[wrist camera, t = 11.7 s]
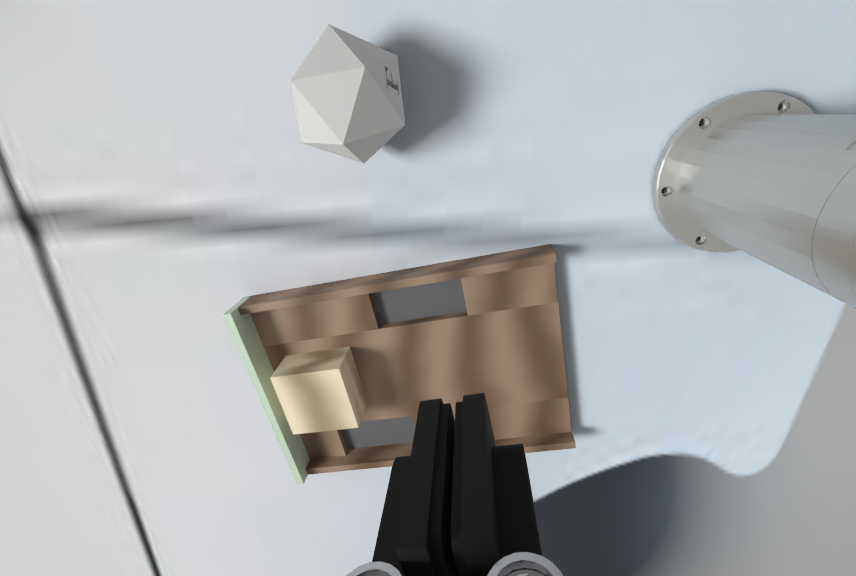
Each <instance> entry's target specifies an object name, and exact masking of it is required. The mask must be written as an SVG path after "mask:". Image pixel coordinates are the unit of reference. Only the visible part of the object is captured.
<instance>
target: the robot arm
mask: <svg viewBox="0 0 856 576" xmlns="http://www.w3.org/2000/svg"><path fill="white" fill-rule="evenodd" d="M778 105H779V107H778ZM700 120H702V124H701V125H700V126H699V122H700ZM664 187H665V190H664V192H661V191H662V189H663V188H664ZM652 196H653V202H654V208H655V211H656V213H657V215H658V218H659V220H660V222H661V223H662V224H663V226H664V227H665V229H666V230H667V231H668V232H669V233H670V234H672V235H673V236H674V237H675V238H676V239H678V240H680V241H681V242H683V243H684V244H686V245H688V246H691V247H693V248H695V249H698V250H703V251H709V252H731V251H738V250H741V251H743V252H745V253H747V254H749V255H751V256H753V257H755V258H757V259H759V260H761V261H763V262H765V263H767V264H769V265H771V266H773V267H775V268H777V269H779V270H781V271H783V272H785V273H787V274H789V275H791V276H793V277H795V278H797V279H799V280H801V281H803V282H805V283H807V284H809V285H811V286H813V287H815V288H817V289H819V290H820V291H822V292H824V293H826V294H828V295H830V296H832V297H834V298H836V299H838V300H840V301H843V302H845V303H847V304H849V305H851V306H853V307H855V308H856V114H815V113H814V112H813V111H812V110H811V109H810V108H809V107H808V106H807V105H806V104H804V103H803V102H801V101H799V100H798V99H796V98H795V97H792V96H789V95H786V94H782V93H779V92H767V91H756V92H745V93H740V94H736V95H731V96H728V97H725V98H723V99H720V100H718V101H715V102H713V103H711V104H710V105H708V106H706V107H705V108H703V109H701V110H700V111H698V112H697V113H695V114H694V115H693V116H692V117H691V118H689V119H688V120H687V121H686V122H685V123H683V125H682V126H681V127H680V128H679V129H678V130H677V131H676V132H675V134H674V135H673V136H672V137H671V139H670V140H669V142H668V143H667V145H666V146H665V148H664V150H663V151H662V154H661V156H660V158H659V161H658V163H657V165H656V169H655V173H654V178H653V188H652ZM697 237H698V239H697V240H696V238H697ZM347 576H563V575H562V573H561V571H560V570H559V569H557V567H556V566H555V565H554V564H553V563H552V562H551V561H549V560H547V559H546V558H544V557H543V556H542V550H541V544H540V539H539V533H538V527H537V521H536V515H535V509H534V503H533V497H532V491H531V485H530V479H529V474H528V468H527V462H526V457H525V451H524V446H523V443H522V444H513V445H503V446H496V443H495V439H494V434H493V429H492V424H491V420H490V415H489V410H488V405H487V401H486V396H485V393H478V394H470V395H464V396H463V401H461V402H456V406H455V419H454V415H453V411H452V407H451V404H450V403H446V404H444V403H443V401H442V399H441V398H439V399H432V400H424V401H420V403H419V408H418V415H417V421H416V427H415V433H414V439H413V445H412V451H411V456H402V457H396V458H395V460H394V462H393V466H392V471H391V475H390V480H389V485H388V490H387V494H386V499H385V504H384V509H383V513H382V518H381V523H380V527H379V532H378V537H377V542H376V546H375V551H374V556H373V560H372V562H369V563H367V564H364V565H361V566H359V567H357V568H356V569H355V570H353V571H352V572H350V573H349V574H348V575H347Z"/></svg>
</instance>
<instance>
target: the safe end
mask: <svg viewBox="0 0 856 576" xmlns="http://www.w3.org/2000/svg"><path fill="white" fill-rule="evenodd" d="M249 297H250V296H249ZM249 297H243V298H242V299H241V300H240V301H239V302H237V303H236V304H235V305H234V306H233V307H232V308H230V309H229V310H228V311H227V312H226V313H224V314H223V317H224V319H225V321H226V323H227V326H228V328H229V330H230V333H231V335H232V337H233V339H234V342H235V344H236V346H237V349H238V351H239V353H240V355H241V358H242V360H243V362H244V365H245V367H246V369H247V371H248V374H249V376H250V378H251V380H252V383H253V385H254V387H255V390H256V392H257V394H258V396H259V399H260V401H261V403H262V406H263V408H264V410H265V412H266V415H267V417H268V419H269V421H270V424H271V426H272V428H273V431H274V433H275V435H276V437H277V440H278V442H279V444H280V447H281V449H282V451H283V453H284V456H285V458H286V460H287V463H288V465H289V467H290V469H291V472H292V474H293V476H294V478H295V481H296V483H297V484H304V482H305V479H306V477H307V475H308V474H307V472H306V467H307V465H308V462H309V460H310V458H309V456H308V453H307V451H306V448H305V446H304V444H303V441H302V439H301V436H300V434H294V435H293V433H292V431H291V428H290V426H289V423H288V421H287V418H286V416H285V413H284V411H283V408H282V406H281V404H280V401H279V399H278V396H277V394H276V391H275V389H274V386H273V384H272V381H271V379H270V377H271V376H272V374H273V373H274V371H273V368H272V366H271V363H270V361H269V358H268V356H267V354H266V351H265V349H264V346H263V344H262V341H261V339H260V337H259V334H258V332H257V329H256V327H255V324H254V322H253V319H252V317H251V315H250V313H249V314H243V315H240V313H239V310H238V307H239V306H240V305H241V304H242V303H243V302H244V301H246V300H247V299H248V298H249Z"/></svg>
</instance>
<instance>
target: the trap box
mask: <svg viewBox="0 0 856 576" xmlns="http://www.w3.org/2000/svg"><path fill="white" fill-rule="evenodd" d="M556 262H557V258H556V253H555V251H554V250H553V248H552V246H551V245H550V244H549V245H543V246H537V247H532V248H526V249H520V250H514V251H509V252H503V253H497V254H491V255H485V256H480V257H474V258H468V259H462V260H457V261H451V262H445V263H439V264H433V265H428V266H422V267H416V268H410V269H405V270H399V271H393V272H387V273H381V274H376V275H370V276H364V277H358V278H353V279H347V280H341V281H335V282H330V283H324V284H318V285H312V286H306V287H301V288H295V289H289V290H283V291H278V292H272V293H266V294H260V295H254V296H250V297H249V298H248V299H247V300H246V301H244V302H243V303H242V304H241V305H240V306H239V307H238V310H239V313H240V315H243V314H249V313H250V315H251V317H252V319H253V322H254V324H255V327H256V329H257V332H258V334H259V337H260V339H261V341H262V344H263V346H264V349H265V351H266V354H267V356H268V358H269V361H270V363H271V366H272V368H273V371H274V372H275V370H276V369H277V367H278V366H279V365H280V363H281V362H282V361H283V359H284V358H285V356H286V355H292V354H299V353H307V352H314V351H321V350H328V349H335V348H343V347H350V349H351V352H352V355H353V358H354V362H355V365H356V368H357V371H358V374H359V378H360V381H361V384H362V387H363V390H364V394H365V397H366V400H367V404H366V407H365V410H364V413H363V416H362V419H361V421H360V422H364V421H373V420H381V419H390V418H398V417H407V416H413V419H414V423H415V426H416V421H417V415H418V408H419V403H420V401H424V400H432V399H439V398H441V399H442V401H443V403H444V404H446V403H450V404H451V407H452V411H453V415H454V419H455V406H456V402H461V401H463V396H464V395H470V394H478V393H485V396H486V401H487V405H488V410H489V415H490V420H491V424H492V429H493V434H494V439H495V443H496V446H503V445H513V444H522V443H523V446H524V451H525V453H530V452H540V451H550V450H560V449H570V448H576V446H575V440H574V437H573V434H572V430H571V420H570V411H569V401H568V391H567V382H566V372H565V363H564V353H563V343H562V334H561V324H560V314H559V305H558V295H557V285H556V276H555V266H554V263H556ZM460 278H461V283H462V288H463V293H464V298H465V303H466V308H467V311H465V312H458V313H452V314H445V315H439V316H432V317H426V318H419V319H413V320H406V321H400V322H393V323H387V324H380V322H379V318H378V315H377V311H376V308H375V304H374V301H373V297H372V294H371V293H375V292H381V291H387V290H393V289H399V288H405V287H412V286H418V285H424V284H430V283H436V282H442V281H448V280H454V279H460ZM300 436H301V439H302V441H303V444H304V446H305V448H306V451H307V453H308V456H309V458H310V460H309V462H308V465H307V467H306V472H307V474H317V473H327V472H337V471H347V470H357V469H368V468H378V467H388V466H393V462H394V460H395V458H396V457H402V456H411V451H412V445H413V442H409V443H400V444H390V445H381V446H372V447H362V448H353V449H348V447H347V444H346V442H345V439H344V436H343V433H342V431H341V430H331V431H322V432H313V433H304V434H300Z"/></svg>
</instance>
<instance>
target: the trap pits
mask: <svg viewBox="0 0 856 576" xmlns="http://www.w3.org/2000/svg"><path fill="white" fill-rule="evenodd" d="M371 294H372V297H373V301H374V304H375V308H376V311H377V315H378V318H379V322H380V324H387V323H393V322H400V321H406V320H413V319H419V318H426V317H432V316H439V315H445V314H452V313H458V312H465V311H467V308H466V303H465V298H464V293H463V288H462V283H461V278H460V279H454V280H448V281H442V282H436V283H430V284H424V285H418V286H412V287H405V288H399V289H393V290H387V291H381V292H375V293H371ZM415 427H416V426H415V423H414V419H413V416H407V417H398V418H390V419H381V420H373V421H364V422H360V424H359V427H358V428H350V429H341V431H342V433H343V436H344V439H345V442H346V444H347V447H348V449H353V448H362V447H372V446H381V445H390V444H400V443H409V442H413V439H414V433H415Z"/></svg>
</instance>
